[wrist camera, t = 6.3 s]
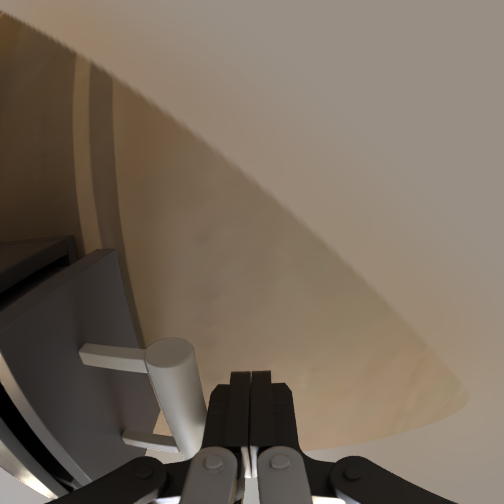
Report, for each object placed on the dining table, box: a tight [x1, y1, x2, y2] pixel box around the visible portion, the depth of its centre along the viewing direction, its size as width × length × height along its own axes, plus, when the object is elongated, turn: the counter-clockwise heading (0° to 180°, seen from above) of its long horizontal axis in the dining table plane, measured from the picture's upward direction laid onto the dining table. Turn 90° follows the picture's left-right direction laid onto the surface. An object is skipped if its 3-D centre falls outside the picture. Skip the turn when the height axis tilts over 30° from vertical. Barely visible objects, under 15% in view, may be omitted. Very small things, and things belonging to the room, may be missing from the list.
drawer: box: [0, 248, 207, 489], centre depth 10 cm, size 17×10×8 cm, turn 93°
